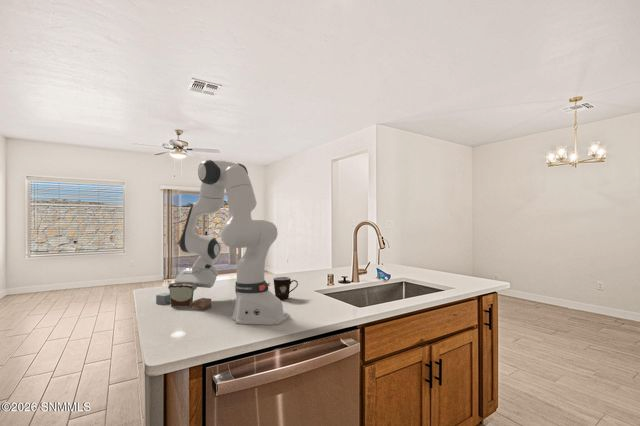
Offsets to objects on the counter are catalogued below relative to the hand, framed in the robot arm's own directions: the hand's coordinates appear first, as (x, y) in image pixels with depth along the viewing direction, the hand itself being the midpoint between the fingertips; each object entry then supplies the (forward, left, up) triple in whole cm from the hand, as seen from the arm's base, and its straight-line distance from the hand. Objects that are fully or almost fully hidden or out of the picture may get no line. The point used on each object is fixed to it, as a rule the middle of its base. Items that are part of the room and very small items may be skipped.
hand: (187, 293), depth 142 cm
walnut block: (-12, +4, -5) cm, 14 cm away
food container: (0, +2, -5) cm, 5 cm away
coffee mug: (-40, -22, -5) cm, 46 cm away
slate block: (+12, +1, -5) cm, 13 cm away
